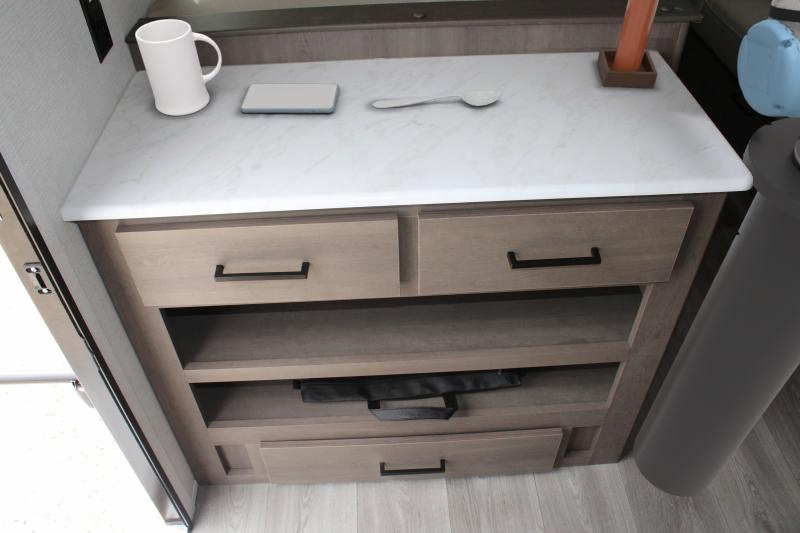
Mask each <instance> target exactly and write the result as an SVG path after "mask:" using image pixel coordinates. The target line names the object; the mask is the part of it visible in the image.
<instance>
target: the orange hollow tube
mask: <svg viewBox="0 0 800 533" xmlns="http://www.w3.org/2000/svg"><path fill="white" fill-rule="evenodd" d="M659 1H660V0H628V1H627V5H626V10H625V12H624V17H623V21H622V25H621V29H620V34H619V37H618V41H617V44H616V49H615V50H616V53H615V57H614V61H613V65H612V71H635V72H639V70H640V66H641V63H642V59H643V56H644V52H645V51H646V48H647V46H648V41H649V38H650V34H651V31H652V26H653V24H654V20H655V16H656V12H657V9H658V5H659Z"/></svg>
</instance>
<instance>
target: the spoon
mask: <svg viewBox="0 0 800 533" xmlns="http://www.w3.org/2000/svg"><path fill="white" fill-rule="evenodd" d="M501 97H502V93H501V92H499V91H496V90H487V91H486V90H485V91H483V90H482V91H466V92H455V93H448V94H442V95H433V96H432V95H431V96H422V97H411V98H400V99H385V100H384V99H383V100H377V101H375V102H373V103H372V107H374V108H376V109H390V108H397V107H398V108H399V107H406V106H411V105H415V104H416V105H417V104H421V103H426V102H429V101H435V100H443V99H450V98H460V99H462V101H464V102H465V103H467V104H469V105H472V106H475V107H479V106H487V105H490V104H492V103H494V102H496V101H498V100H499V99H500V98H501Z"/></svg>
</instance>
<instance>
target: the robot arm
mask: <svg viewBox="0 0 800 533" xmlns="http://www.w3.org/2000/svg"><path fill="white" fill-rule="evenodd" d="M736 65H737V79H738V84H739V87H740V90H741V91H742V94H743V95H742V96H743V97H744V99H745V101H746V102H747V104H748V105H749V107H751V108H752V110H754V111H755V112H756V113H759V114H760V115H763V116H766V117H788V118H796V117H800V0H772V1H771V4H770V8H769V11H768V16H767V19H764V20H761V21H760V22H757V23H755V24H753V25H752V26H751V27H750V28H749V29H748V31H747V34H746V35H744V36H743V38H742V40H741V42H740V45H739V50H738V54H737V64H736ZM798 139H799V140H798ZM798 139H797V140H798V141H797V140H796V141H797V143H796V145H795V147H794V149H793V151H792V159H793V162H794V164H795V165H796V167H797V168H798V169H799V170H800V136H799V137H798Z"/></svg>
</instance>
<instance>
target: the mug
mask: <svg viewBox="0 0 800 533" xmlns="http://www.w3.org/2000/svg"><path fill="white" fill-rule="evenodd" d="M134 35H135V39H136V42H137V46H138V48H139V53H140V55H141V58H142V62H143V65H144V68H145V72H146V75H147V77H148V81H149V83H150V87H151V92H152V94H153V97H154V103H155V104H154V105H155V108H156V109H157V111H158V112H160V113H161V114H164V115H167V116H177V117H178V116H179V117H180V116H186V115H191V114H194V113H197V112H199V111H201V110H202V109H204V108H205V107H207V105H208V104H209V102H210V99H211V98H210V94H209V92H208V90H207V86H206V83H208V82H210V81H211V80H213V79H214V78H215V77H216V76H217V75H218V73H219V72H220V70H221V68H222V62H223V57H222V52H221V50H220V47H219V46H218V45H217V43H216V42H215V40H213V39H212V38H210V37H209V36H208V35H205V34H203V33H198V32H195V31H193V30H192V26H191V25H190V23H188V22H186V21H185V20H181V19H175V18H170V19H169V18H168V19H158V20H154V21H150V22H148V23H145V24H143V25H142V26H140V27H139V28H137V30H135V33H134ZM196 41H203V42H206V43H208V44H210V45H211V46H212V47H213V48H214V49H215V50H216V52H217V57H218V59H217V64H216V67H215V68H214V69H213V70H212V71H211V72H209V73H207V74H203V71H202V67H201V63H200V59H199V55H198V50H197V46H196V43H195V42H196Z"/></svg>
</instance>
